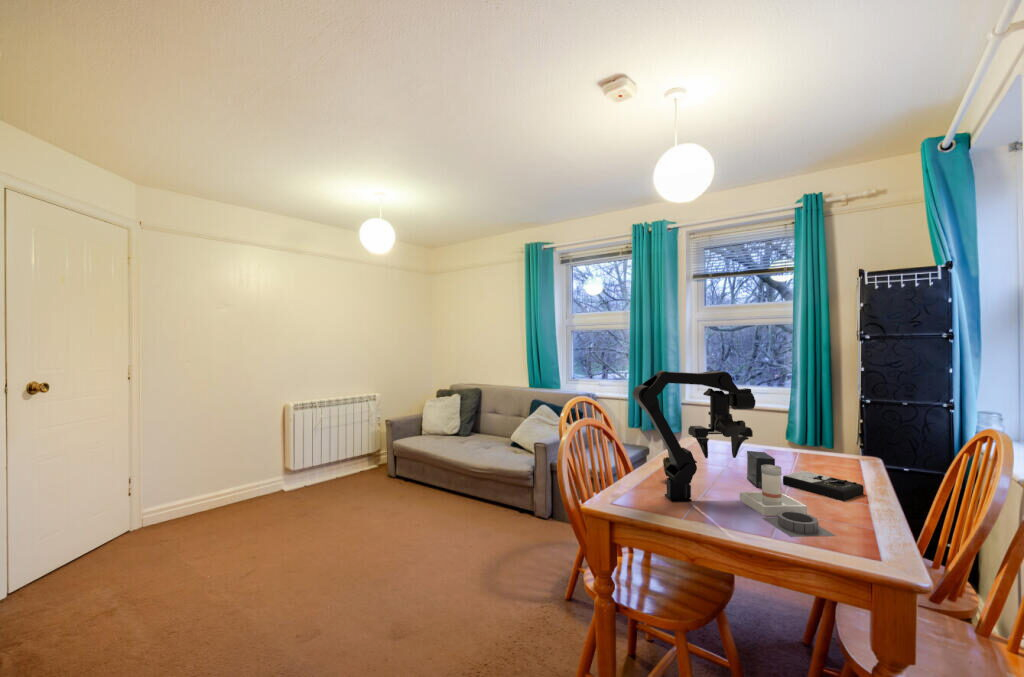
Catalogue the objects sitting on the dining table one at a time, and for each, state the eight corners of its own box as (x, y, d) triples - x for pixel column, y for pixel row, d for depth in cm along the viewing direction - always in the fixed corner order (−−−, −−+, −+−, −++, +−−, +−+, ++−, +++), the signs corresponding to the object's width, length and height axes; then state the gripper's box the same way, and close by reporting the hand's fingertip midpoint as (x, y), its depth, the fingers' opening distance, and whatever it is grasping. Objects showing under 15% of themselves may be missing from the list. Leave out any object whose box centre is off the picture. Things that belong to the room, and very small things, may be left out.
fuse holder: (790, 540, 112) (790, 526, 112) (762, 521, 124) (761, 509, 124) (836, 539, 113) (836, 525, 113) (803, 520, 125) (803, 508, 125)
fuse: (774, 511, 129) (774, 469, 129) (758, 505, 134) (757, 465, 134) (785, 508, 131) (785, 467, 132) (768, 502, 136) (768, 463, 136)
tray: (764, 519, 126) (764, 506, 126) (739, 503, 138) (739, 492, 138) (807, 518, 126) (807, 506, 126) (778, 502, 139) (778, 491, 139)
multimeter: (843, 502, 140) (843, 487, 140) (782, 485, 157) (782, 471, 157) (864, 496, 146) (864, 480, 146) (803, 480, 163) (803, 466, 163)
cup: (682, 485, 156) (682, 463, 156) (660, 482, 159) (660, 460, 160) (686, 480, 162) (686, 458, 162) (665, 477, 166) (665, 455, 166)
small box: (776, 489, 152) (776, 458, 152) (756, 487, 153) (755, 457, 153) (765, 479, 162) (765, 451, 162) (746, 478, 164) (746, 450, 164)
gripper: (703, 413, 135) (703, 465, 135) (762, 413, 136) (763, 464, 135) (687, 408, 146) (687, 455, 146) (742, 408, 147) (743, 455, 147)
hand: (720, 457), depth 143 cm, fingers open, 9 cm apart
